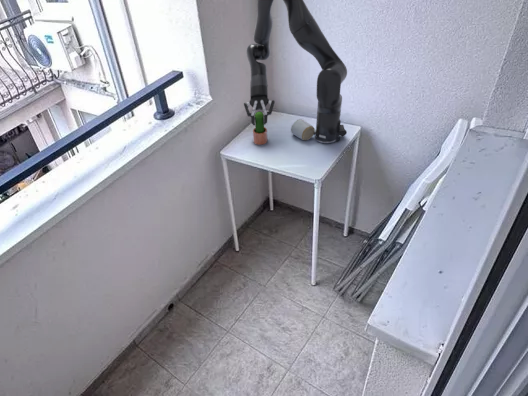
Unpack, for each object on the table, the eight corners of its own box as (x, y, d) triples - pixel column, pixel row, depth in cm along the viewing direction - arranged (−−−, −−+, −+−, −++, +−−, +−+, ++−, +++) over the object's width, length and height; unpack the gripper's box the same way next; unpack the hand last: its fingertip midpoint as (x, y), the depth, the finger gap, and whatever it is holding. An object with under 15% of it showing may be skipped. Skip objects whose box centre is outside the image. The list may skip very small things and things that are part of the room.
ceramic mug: (302, 143, 161) (303, 128, 156) (290, 136, 167) (290, 122, 162) (321, 135, 163) (322, 120, 158) (308, 128, 169) (309, 114, 164)
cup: (267, 138, 170) (266, 126, 166) (267, 145, 165) (266, 133, 161) (253, 139, 172) (253, 127, 168) (253, 146, 167) (252, 134, 163)
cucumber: (264, 138, 169) (263, 109, 159) (264, 143, 166) (263, 113, 157) (256, 139, 170) (254, 110, 161) (256, 143, 167) (254, 114, 158)
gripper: (242, 85, 160) (242, 123, 159) (275, 82, 156) (275, 121, 155) (243, 91, 167) (244, 127, 166) (275, 88, 163) (275, 125, 162)
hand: (259, 124), depth 160 cm, fingers open, 4 cm apart
